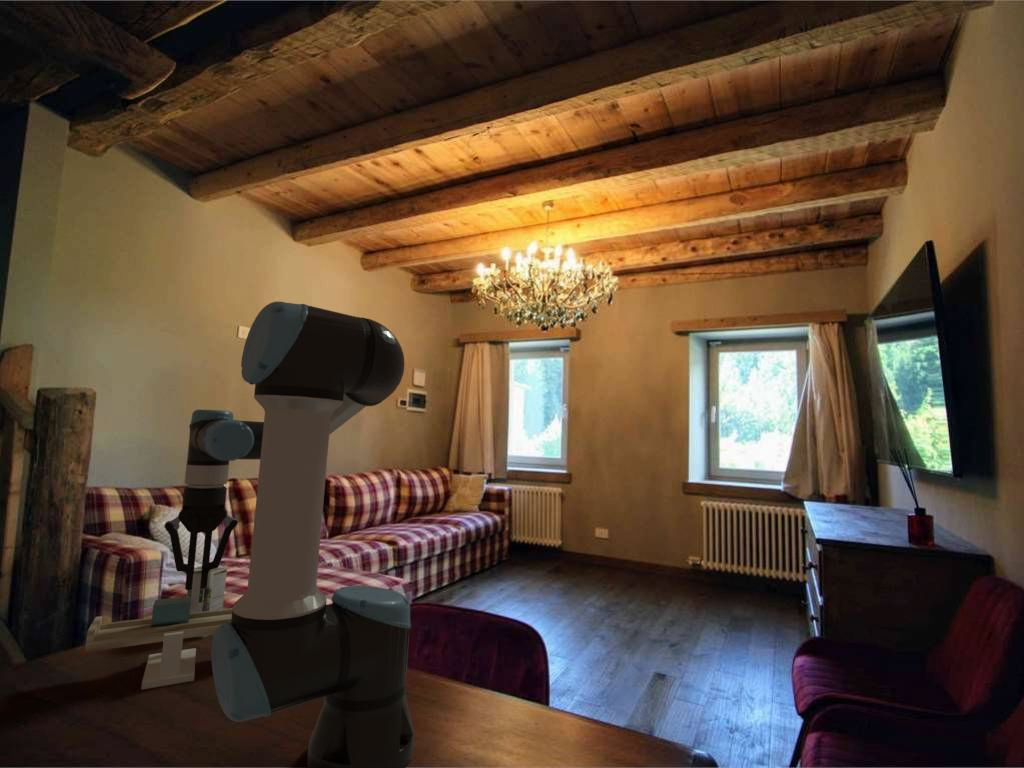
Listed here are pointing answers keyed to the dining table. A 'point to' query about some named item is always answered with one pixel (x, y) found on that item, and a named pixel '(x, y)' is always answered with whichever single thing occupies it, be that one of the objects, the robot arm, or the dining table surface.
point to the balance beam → (151, 630)
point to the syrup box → (211, 591)
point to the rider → (171, 611)
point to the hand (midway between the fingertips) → (194, 605)
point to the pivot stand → (170, 663)
